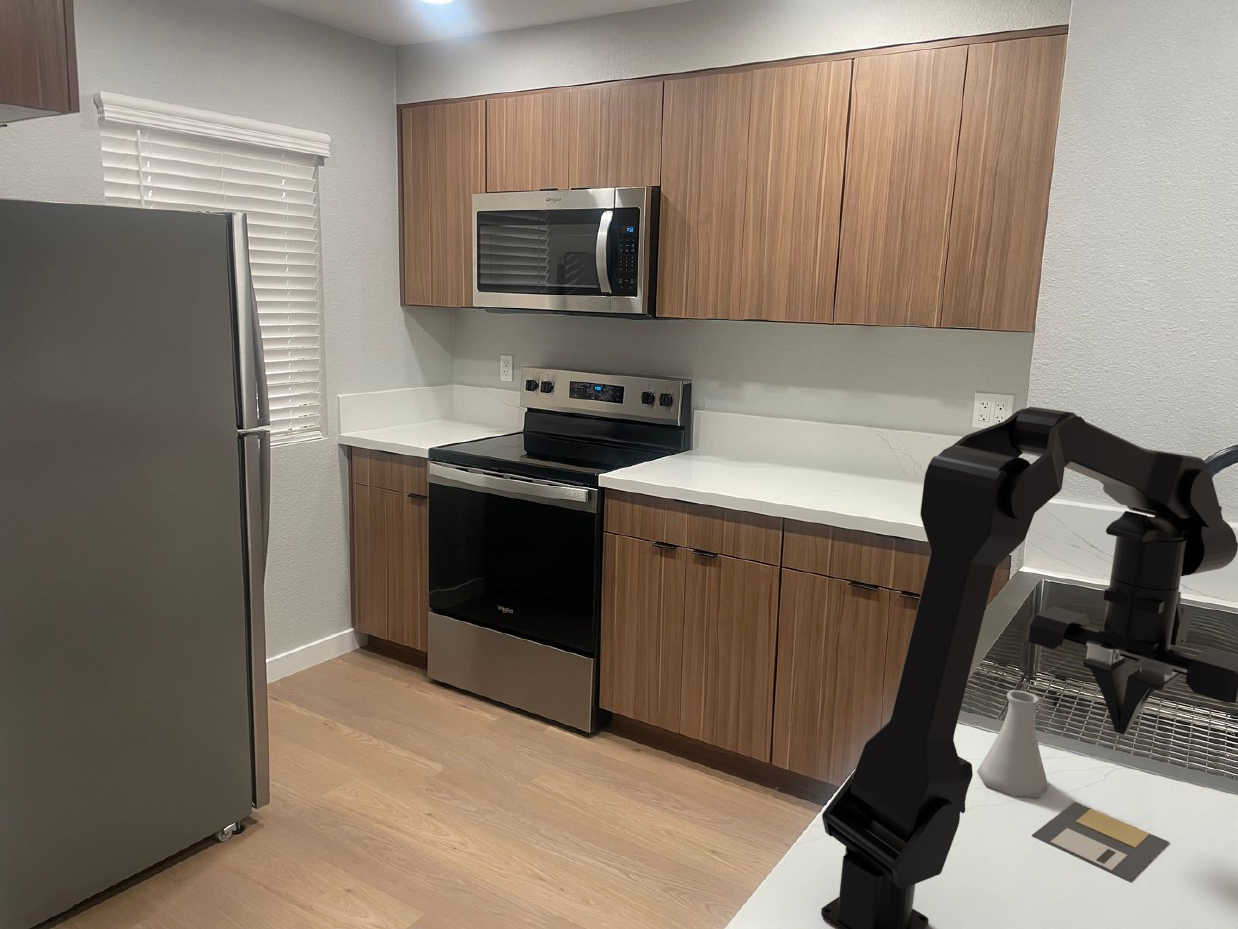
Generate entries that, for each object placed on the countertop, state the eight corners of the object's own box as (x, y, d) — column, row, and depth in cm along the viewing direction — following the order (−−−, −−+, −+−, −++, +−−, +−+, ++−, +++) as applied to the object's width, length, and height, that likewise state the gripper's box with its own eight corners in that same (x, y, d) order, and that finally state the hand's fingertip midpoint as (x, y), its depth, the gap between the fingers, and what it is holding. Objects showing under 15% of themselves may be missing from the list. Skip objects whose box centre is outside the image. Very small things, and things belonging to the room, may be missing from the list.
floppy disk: (1130, 881, 82) (1130, 879, 82) (1031, 835, 89) (1032, 834, 89) (1169, 842, 89) (1169, 840, 89) (1074, 802, 95) (1074, 800, 95)
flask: (1049, 806, 95) (1062, 717, 93) (975, 789, 97) (986, 702, 96) (1047, 774, 101) (1059, 690, 99) (977, 759, 104) (988, 677, 102)
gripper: (1283, 591, 85) (1255, 745, 88) (1078, 546, 99) (1060, 681, 102) (1249, 615, 78) (1220, 782, 81) (1032, 562, 91) (1014, 707, 94)
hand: (1121, 732), depth 89 cm, fingers closed
